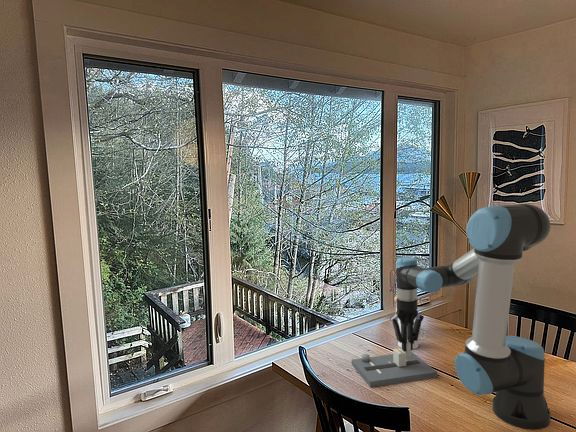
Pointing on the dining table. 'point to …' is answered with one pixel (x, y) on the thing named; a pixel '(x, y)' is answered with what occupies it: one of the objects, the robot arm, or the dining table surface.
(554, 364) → the dining table surface
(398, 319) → the mug
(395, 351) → the fader tab
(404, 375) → the console board
